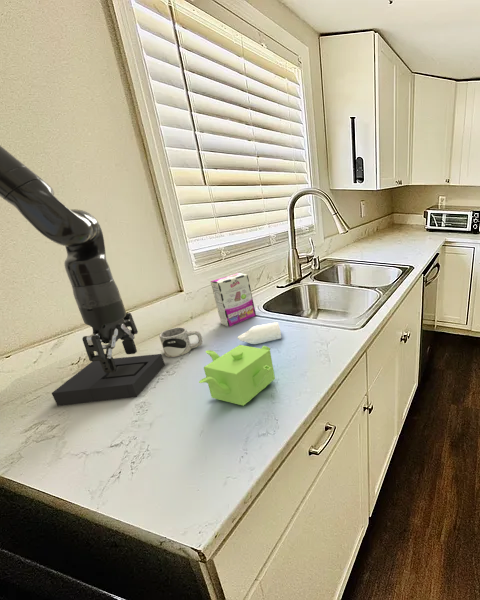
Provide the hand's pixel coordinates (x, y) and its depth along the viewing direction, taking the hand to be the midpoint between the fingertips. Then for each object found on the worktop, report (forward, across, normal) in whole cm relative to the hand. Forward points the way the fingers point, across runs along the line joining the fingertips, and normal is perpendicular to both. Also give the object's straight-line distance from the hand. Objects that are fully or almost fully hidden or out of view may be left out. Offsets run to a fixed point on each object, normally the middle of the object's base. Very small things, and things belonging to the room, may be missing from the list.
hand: (122, 362), depth 80 cm
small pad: (+6, 0, 0) cm, 6 cm away
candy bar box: (+6, -35, +17) cm, 39 cm away
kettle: (+6, +10, +29) cm, 31 cm away
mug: (+6, -15, +7) cm, 18 cm away
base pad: (+6, 0, -3) cm, 7 cm away
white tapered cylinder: (+6, -16, +28) cm, 33 cm away
